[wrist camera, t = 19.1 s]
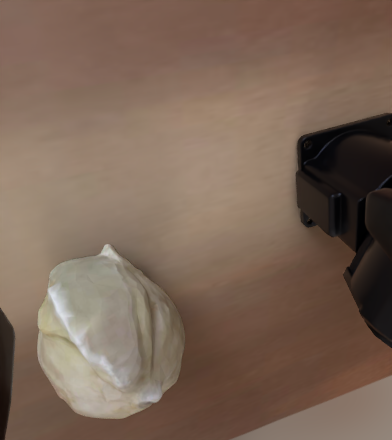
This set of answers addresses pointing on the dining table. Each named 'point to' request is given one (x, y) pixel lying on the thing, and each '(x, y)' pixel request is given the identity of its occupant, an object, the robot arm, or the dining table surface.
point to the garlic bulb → (108, 336)
